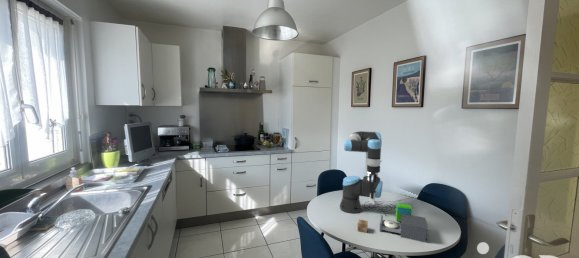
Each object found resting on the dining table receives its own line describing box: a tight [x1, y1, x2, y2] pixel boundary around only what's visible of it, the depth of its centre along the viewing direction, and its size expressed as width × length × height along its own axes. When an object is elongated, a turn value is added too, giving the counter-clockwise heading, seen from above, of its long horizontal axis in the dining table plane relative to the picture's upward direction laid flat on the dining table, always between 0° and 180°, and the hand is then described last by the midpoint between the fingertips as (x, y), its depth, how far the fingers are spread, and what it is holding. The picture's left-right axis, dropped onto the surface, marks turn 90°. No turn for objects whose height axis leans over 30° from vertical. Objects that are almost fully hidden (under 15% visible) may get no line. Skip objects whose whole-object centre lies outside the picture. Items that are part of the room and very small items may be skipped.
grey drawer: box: [379, 215, 401, 235], centre depth 140 cm, size 13×12×5 cm
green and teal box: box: [394, 203, 413, 222], centre depth 154 cm, size 10×13×10 cm
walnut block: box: [357, 219, 369, 234], centre depth 139 cm, size 5×5×5 cm
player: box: [400, 213, 429, 244], centre depth 135 cm, size 13×14×8 cm
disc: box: [383, 219, 398, 229], centre depth 140 cm, size 8×8×2 cm
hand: (372, 202), depth 144 cm, fingers closed
